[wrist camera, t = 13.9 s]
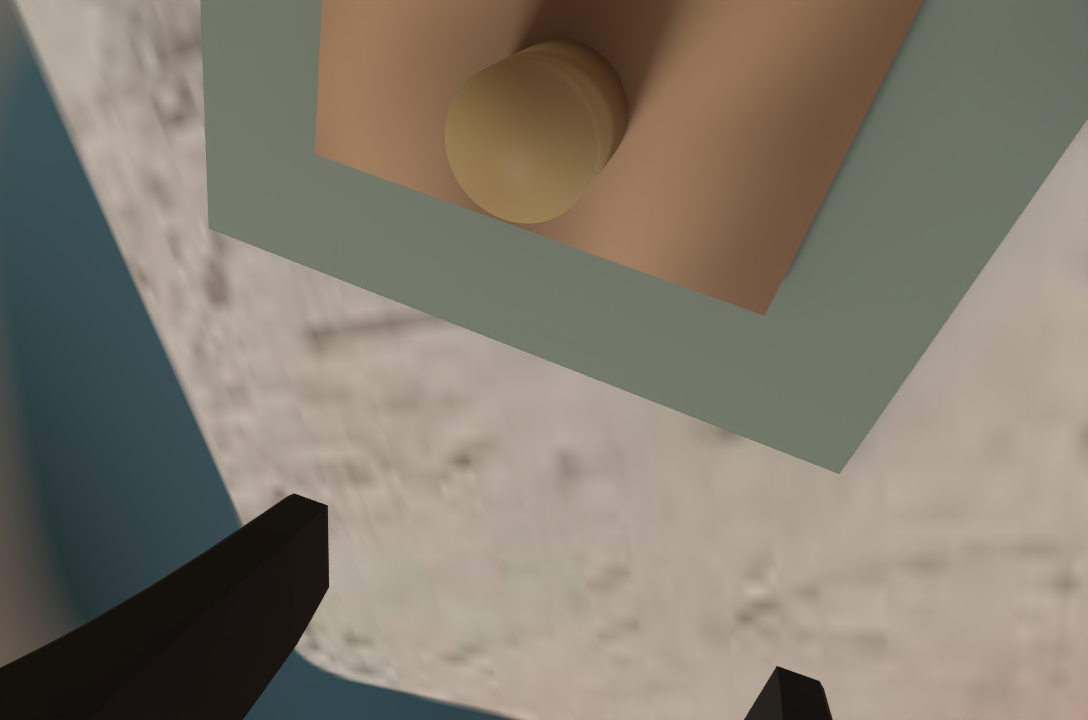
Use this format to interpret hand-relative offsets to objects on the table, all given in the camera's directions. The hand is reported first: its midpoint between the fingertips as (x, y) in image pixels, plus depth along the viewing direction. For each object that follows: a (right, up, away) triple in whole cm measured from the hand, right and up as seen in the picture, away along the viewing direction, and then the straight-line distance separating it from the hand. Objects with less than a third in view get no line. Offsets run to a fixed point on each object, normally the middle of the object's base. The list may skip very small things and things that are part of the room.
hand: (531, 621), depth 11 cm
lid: (+1, +12, +4) cm, 13 cm away
